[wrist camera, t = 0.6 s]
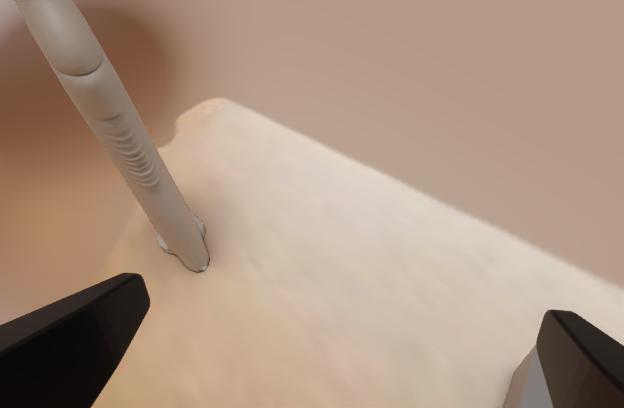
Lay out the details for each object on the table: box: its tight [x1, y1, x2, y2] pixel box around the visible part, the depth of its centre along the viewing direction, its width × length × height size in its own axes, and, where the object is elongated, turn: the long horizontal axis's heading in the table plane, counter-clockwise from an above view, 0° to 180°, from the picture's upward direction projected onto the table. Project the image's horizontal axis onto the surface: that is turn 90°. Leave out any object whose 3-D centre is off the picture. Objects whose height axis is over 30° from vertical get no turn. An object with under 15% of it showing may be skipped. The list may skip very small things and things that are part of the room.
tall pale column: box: [15, 0, 210, 272], centre depth 23 cm, size 11×4×22 cm, turn 36°
